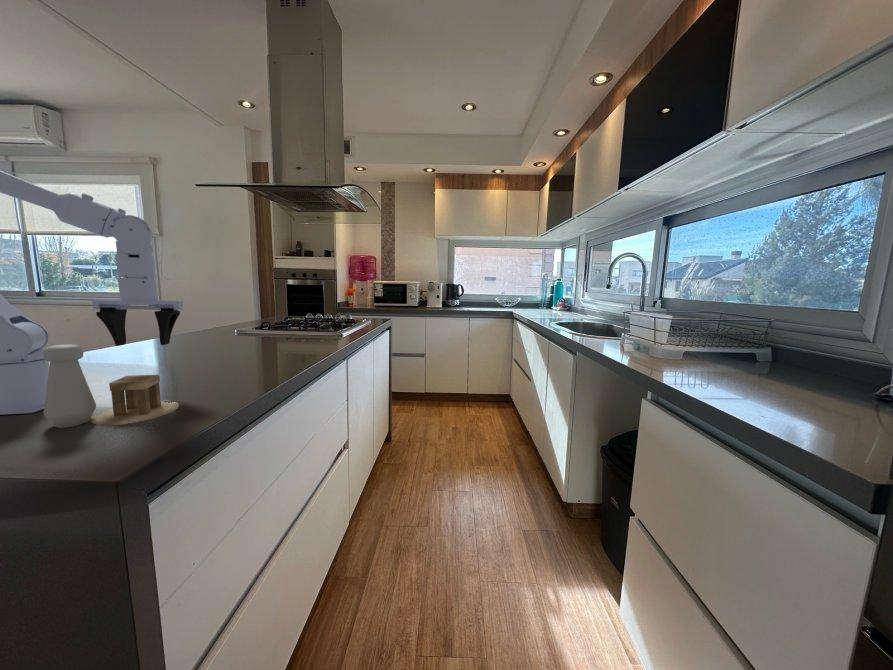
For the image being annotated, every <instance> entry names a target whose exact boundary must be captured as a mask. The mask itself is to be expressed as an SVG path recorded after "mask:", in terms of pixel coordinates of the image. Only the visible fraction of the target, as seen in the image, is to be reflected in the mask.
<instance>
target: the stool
mask: <svg viewBox="0 0 893 670" xmlns="http://www.w3.org/2000/svg"><path fill="white" fill-rule="evenodd" d="M160 376H161V375H160V374H138V375H135V374H134V375H133V374H132V375H125V376H123V377H119V378H118V379H115V380H113V381H110V382H108V383H109V391H110V393H111V400H112V401H111V403H112V408H113V413H114V416H123V415H125V414H126V407H127V409H135V408H137V407H138V412H139V415H146V414H148V413H150V412H151V410H150V408H158V407H159V406H161V387H160V383H161V378H160Z"/></svg>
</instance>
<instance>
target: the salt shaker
mask: <svg viewBox="0 0 893 670" xmlns="http://www.w3.org/2000/svg"><path fill="white" fill-rule="evenodd" d="M42 350H43V357H44V360H45V361H49V374H48V382H47V390H46V398H45V406H44V409H43V416H44V418H46V420H47V421H48V422H49V423H50V425H51V426H52V427H53V428H59V429H64V428H71V427H78V426H81V425H83V424H86V423H89V422H90V418H91V417H92V416H93V415H94V414H93V413H94V412H95V411H96V408H97V403H96V401H95V398H94V396H93V394H92V391H91V389H90V387H89V385H88V381H87V379H86V377H85V375H84V372H83V370H82V367H81V366H80V365H81V364H80V362H79V360H80V359H82V358H83V357H84V350H83V347H82V346H80V345H78V344H74V343H73V344H70V343H67V344H66V343H65V344H56V345H51V346H47V347H45V349H44V348H43V349H42Z"/></svg>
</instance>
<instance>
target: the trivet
mask: <svg viewBox="0 0 893 670" xmlns="http://www.w3.org/2000/svg"><path fill="white" fill-rule="evenodd" d="M164 401H165V400H163V401H161V406H159V407H158V408H150V410H151V412H150V413H148V414H146V415H139V412H138V407H137V408H135V409H127V407H126V414H125V415H123V416H114V413H113V407H110V408H107V409H104V410H101V411H99V412H96V413H95V414H92V416H91V418H90V421H89V422H90V423H91V422H92V424H95V425H98V424H99V426H116V425H118V426H119V425H126V424H127V425H128V423H129V424H135V423H140V421H141V422H145V420H146V421H150V420H154V419H158V418H161V417H163V415H164V416H166V414H167V415H169V414H171V413H173V412H175V411H177V410H178V409H179V408H178V407H180V404H179V403H178V402H176V401H174V402H172V403H171V402H170V403H168V402H166V403H165V402H164ZM177 408H178V409H177ZM176 409H177V410H176ZM168 413H169V414H168ZM160 416H161V417H160ZM157 417H158V418H157ZM149 419H150V420H149ZM134 422H135V423H134Z"/></svg>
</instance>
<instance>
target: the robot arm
mask: <svg viewBox="0 0 893 670" xmlns="http://www.w3.org/2000/svg"><path fill="white" fill-rule="evenodd" d="M0 193H1V194H3V195H6V196H9V197H11V198H14V199H15V198H16V199H18V200H20V201H24V202H26V203H29V204H32V205H36V206H38V207H40V208H44V209H48V210H50V211H53V213H54V214H55V215H56V216H57V219H58V220H59V221H60V222H61V223H65V224H66V225H69V226H73V227H76V228H79V229H81V230H84V231H86V232H90V233H92V234H95V235H99V236H101V237H104V238H114V239H115V240H116V241H115V247H116V248H115V249H116V253H115V261H116V269H117V271H116V272H117V282H118V283H117V284H118V293H119V299H117V298H115V299H114V298H112V299H111V298H110V299H109V298H107V299H105V298H104V299H102V298H99V299H98V298H97V299H91V304H92V310H99V311H96V313H95V314H96V316H97V318H99V319H100V321H101V322H102V323H103V325H104V326H105V327H106V329H107V331H109V334H110V335H111V338H112V340H113V342H114V345H115V346H118V347H119V346H123V345H126V344H127V335H126V317H127V314H128V313H127V311H128V310H146V311H147V310H150V311H151V310H153V311H154V316H155V318H156V323H157V325H158V331H159V332H158V334H159V343H160V346H166V345H169V344H170V342H171V335H172V332H173V329H174V326H175V324H176V322H177V320H178V318H179V316H180V314H181V311H182V310H184V309H185V308H184V301H183V300H177V299H176V300H175V299H174V300H173V299H172V300H171V299H169V300H168V299H158V291H157V289H158V288H157V279H156V278H157V277H156V276H157V275H156V267H155V265H156V264H155V256H154V255H153V252H154V249H153V245H152V244H151V242H152V241H153V238H154V233H153V230H152V228H151V227H150V225H149V224H148V223H147V222H146V221H145V220H143V219H142V218H140V217H139V216H135V215H130V214H128V215H127V212H126V210H125V209H122V208H118V209H116V208H113V207H111V206H108V205H105V204H103V203H100V202H98V201H96V200H94V197H93V196H91V195H89V194H88V193H84V192H83V193H82V194H78V193H75V192H69V193H63V194H59V193H56V192H54V191H51V190H50V189H49V190H48V189H45V188H44V187H42V186H39V185H36V184H34V183H32V182H29V181H26V180H24V179H22V178H19V177H17V176H14V175H12V174H9V173H7V172H5V171H2V170H0ZM145 305H146V306H145ZM49 340H50V334H49V331H48V330H47V329H46V328H45V327H44V326H43V325H42V324H40V323H39V322H35V321H34V320H32V319H30V318H29V317H27V316H26V314H25V312H24V311H22V310H20V309H19V308H17V307H15V306H14V305H13V304H11V303H9V302H8V300H7V299H6V298H5V297H4V296H3V295H2V293H0V415H17V414H18V415H19V414H20V415H21V414H32V413H36V412H40V411H42V410H44V406H45V398H46V390H47V382H48V374H49V366H50V362H49V361H45V360H44V357H43V350H44V348H46V345H48V343H49Z"/></svg>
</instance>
